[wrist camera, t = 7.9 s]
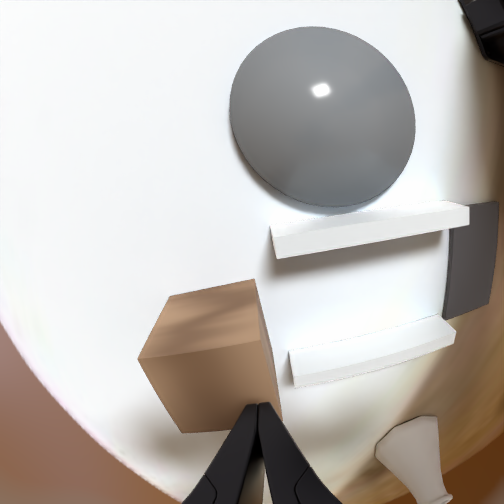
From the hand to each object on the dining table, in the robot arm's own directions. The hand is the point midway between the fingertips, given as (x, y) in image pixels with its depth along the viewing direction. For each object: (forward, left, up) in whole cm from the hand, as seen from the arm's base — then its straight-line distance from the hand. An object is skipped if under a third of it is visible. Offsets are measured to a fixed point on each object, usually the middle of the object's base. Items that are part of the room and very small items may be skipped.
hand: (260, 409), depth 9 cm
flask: (-13, +19, -8) cm, 24 cm away
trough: (-7, 0, -8) cm, 10 cm away
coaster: (-6, -10, -8) cm, 14 cm away
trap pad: (-16, 0, -8) cm, 17 cm away
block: (+2, +1, -8) cm, 8 cm away
